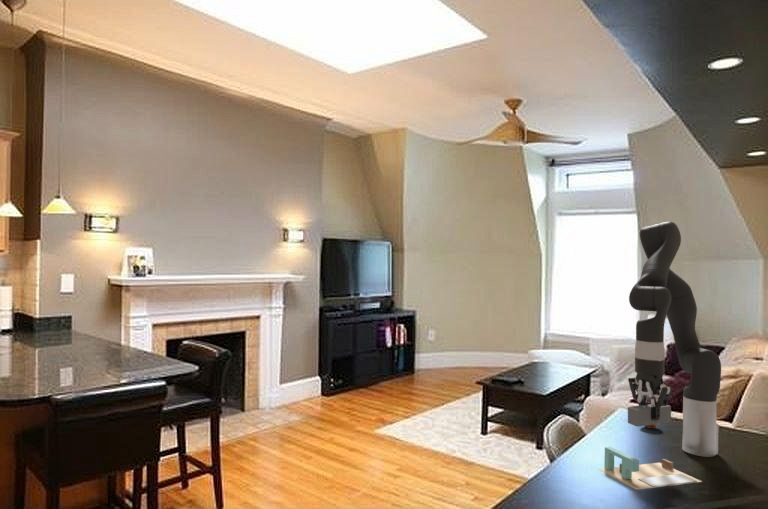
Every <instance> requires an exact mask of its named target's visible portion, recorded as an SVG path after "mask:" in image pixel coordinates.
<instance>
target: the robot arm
mask: <svg viewBox="0 0 768 509" xmlns="http://www.w3.org/2000/svg"><path fill="white" fill-rule="evenodd" d="M639 239H640V240H639V241H640V243H641V246H642V249H643V252H644V253H645V256H646V259H647V260H646V261H645V263H644V264H643V267H642V270H641V275H640V278H639V279H638V280H637V282H636V283H635V284H634V285H633V286H632V288H631V290H630V292H629V296H628V302H629V305H630V307H631V308H632V309H634V310H636V311H643V312H656V313H655V316H654V317H650V318H643V319H639V320H637V321H636V323H635V344H634V372H635V373H636V376H635V377H628V379H627V381H628V383H629V388H630V392H631V395H632V399H634V400H636V401H637V402H638V406H640V405H648V399H650V404H651V405H652V407H651V420H653V421H656V420H659V418H660V407H661V406H667V405H668V403H669V401H670V397H671V394H672V391H673V387H672V386H667V385H666V384H665V382H664V379H663V376H664V375H665V372H666V371H665V364H666V363H665V358H666V355H665V351H666V350H665V342H664V341H665V340H664V339H665V336H664V334H665V333H664V332H665V324H666V318H667V321H668V324H669V327H670V330H671V333H672V336H673V340H674V345H675V350H676V355H677V359H678V363H679V365H680V368H681V369H683V371H684V372H685V373H687V374H688V375H690V377H691V378H690V383H689V385H687V386H684V387H683V392H682V395H683V396H682V398H683V399H682V436H681V437H682V444H681V446H682V447H681V449H682V451H683V452H686V453H688V454H690V455H694V456H699V457H704V458H712V457H715V456H717V455H719V423H717V399H718V395H719V393H720V389H721V379H722V378H721V377H722V362H721V359H720V357H719V355H718V354H717V353H716V352H715V351H712V350H711V349H706V348H702V346H701V344H700V341H699V339H698V336H697V332H696V322H697V321H696V319H697V314H698V312H697V311H698V308H697V302H696V299H695V297H694V294H693V290H692V288H691V286H690V285H689V284H688V282H687V281H685V280H684V279H683V278H682V277H681V276H680V275H678V274H677V273H675V272H674V271H673V270H672V269H670V268H671V266H672V264H673V261H674V260H675V258H676V255H677V253H678V251H679V249H680V247H681V244H682V236H681V231H680V229H679V227H678V225H677V224H676V223H675V222H673V221H664V222H661V223H656V224H653V225H649V226H644V227H642V228H641V229H640V231H639Z"/></svg>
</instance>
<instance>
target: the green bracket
mask: <svg viewBox="0 0 768 509" xmlns="http://www.w3.org/2000/svg"><path fill="white" fill-rule="evenodd" d="M615 457H617V458H619V459H620V460H621V463H622V475H621V477H623V478H625V479H630V478H632V472H638V471H639V465H640V459H638V458H635V457H634V456H631V455H629V454H627V453H625V452H623V451H621V450H618V449H617V448H614V447H612V446H605V447H604V465H603V466H604V468H606V469H608V470H612V469H614V467H615ZM604 468H603V469H604Z"/></svg>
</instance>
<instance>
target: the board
mask: <svg viewBox="0 0 768 509" xmlns="http://www.w3.org/2000/svg"><path fill="white" fill-rule="evenodd" d="M598 470H599V471H601V472H603V473H605V475H608V476H610V477H612V478H614V479H616V480H618V481H620V482H621V483H623V484H625V485H627V486H628V487H630V488H632V489H635V490H636V491H638V490H644V489H645V490H646V489H647V490H648V489H653V488H654V489H655V488H661V487H670V486H678V485H685V484H687V485H688V484H693V483H702V482H703V481H702V480H700V479H697V478H695V477H693V476H691V475H689V474H687V473H685V472H682V471H680V470H677V469H676V468H674V462H673V461H670V460H668V459H665V458H662V459H661V462H651V463H643V464H642V463H641V464H639V471H638V472H632V478H630V479H625V478H623V477H621V475H622V462H621V463H619V466H614V469H612V470H608V469H606V468H598Z"/></svg>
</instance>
